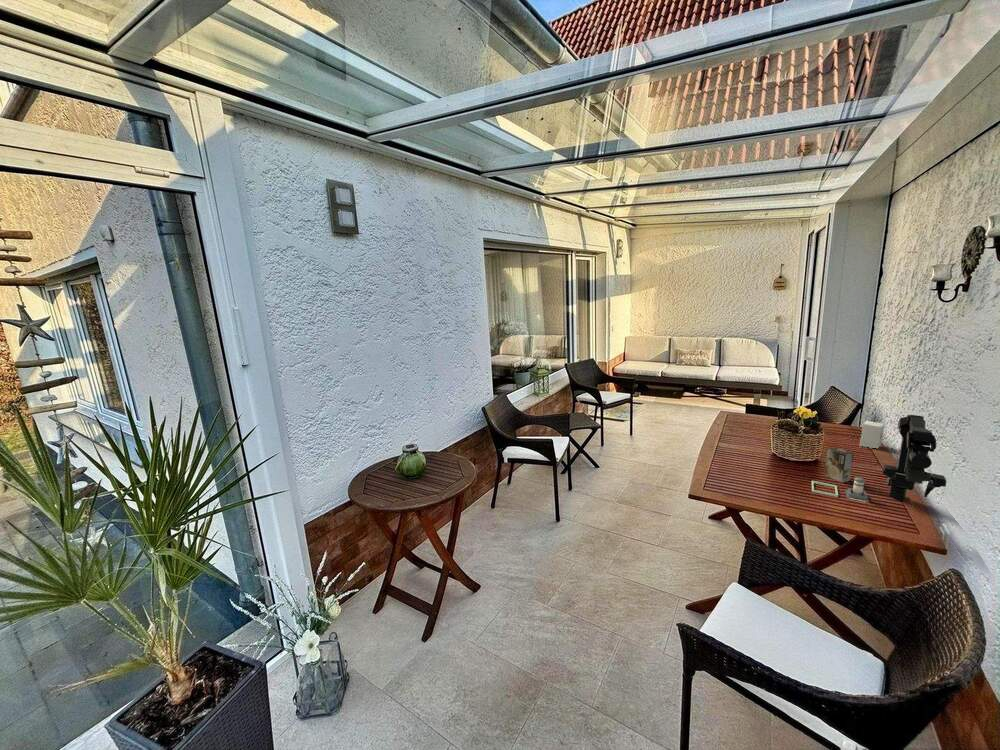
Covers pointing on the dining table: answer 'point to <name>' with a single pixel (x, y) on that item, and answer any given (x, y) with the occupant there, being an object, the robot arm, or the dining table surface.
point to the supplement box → (871, 434)
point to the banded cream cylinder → (858, 486)
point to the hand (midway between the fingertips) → (909, 493)
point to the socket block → (856, 496)
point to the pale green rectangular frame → (824, 492)
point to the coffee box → (839, 464)
